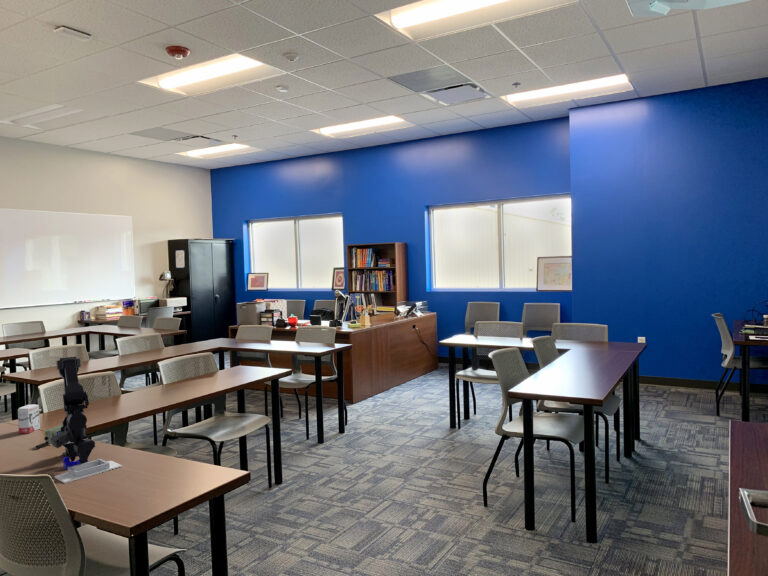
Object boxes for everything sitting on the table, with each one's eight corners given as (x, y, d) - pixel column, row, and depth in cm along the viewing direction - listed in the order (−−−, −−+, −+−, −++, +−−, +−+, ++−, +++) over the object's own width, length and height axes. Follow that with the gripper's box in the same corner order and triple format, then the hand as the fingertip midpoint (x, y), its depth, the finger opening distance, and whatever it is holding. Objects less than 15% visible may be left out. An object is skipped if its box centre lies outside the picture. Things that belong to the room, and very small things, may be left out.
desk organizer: (54, 477, 203) (54, 470, 203) (111, 462, 218) (110, 455, 218) (64, 483, 197) (64, 476, 197) (121, 466, 212) (121, 460, 212)
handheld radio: (83, 432, 260) (40, 450, 235) (77, 432, 260) (33, 450, 236) (82, 418, 260) (39, 434, 235) (75, 418, 260) (32, 434, 236)
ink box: (28, 433, 259) (27, 408, 259) (18, 434, 259) (17, 408, 259) (40, 428, 268) (39, 403, 268) (30, 428, 268) (29, 403, 268)
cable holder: (66, 470, 211) (65, 459, 210) (63, 468, 213) (62, 457, 213) (89, 464, 216) (88, 454, 216) (86, 462, 219) (85, 452, 218)
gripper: (42, 423, 213) (44, 464, 214) (62, 432, 201) (64, 475, 202) (74, 417, 222) (76, 456, 222) (94, 425, 210) (96, 466, 210)
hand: (77, 463), depth 214 cm, fingers open, 9 cm apart
